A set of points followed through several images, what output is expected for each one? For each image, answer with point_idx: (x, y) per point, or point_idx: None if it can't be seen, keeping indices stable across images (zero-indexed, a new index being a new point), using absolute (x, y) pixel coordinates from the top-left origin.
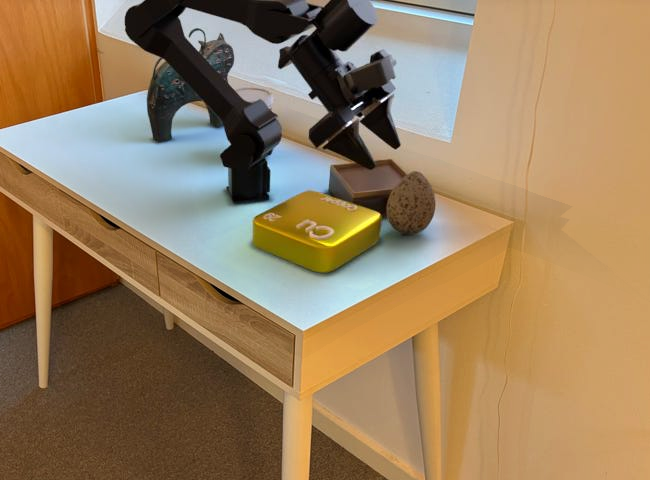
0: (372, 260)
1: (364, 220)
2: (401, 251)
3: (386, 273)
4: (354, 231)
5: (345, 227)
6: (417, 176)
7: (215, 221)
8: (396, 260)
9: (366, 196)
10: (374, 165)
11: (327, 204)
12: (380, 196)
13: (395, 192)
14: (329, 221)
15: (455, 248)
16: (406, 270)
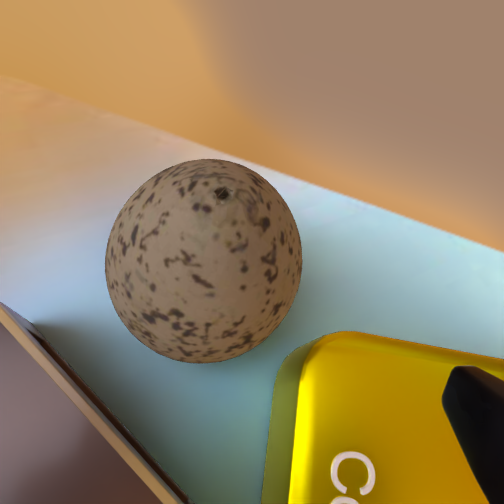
0: (402, 317)
1: (405, 373)
2: (312, 268)
3: (433, 260)
4: (492, 365)
5: None
6: (250, 185)
7: None
8: (363, 262)
9: (173, 494)
10: (478, 371)
11: None
12: (124, 439)
13: (281, 297)
14: None
15: (217, 153)
16: (391, 224)
